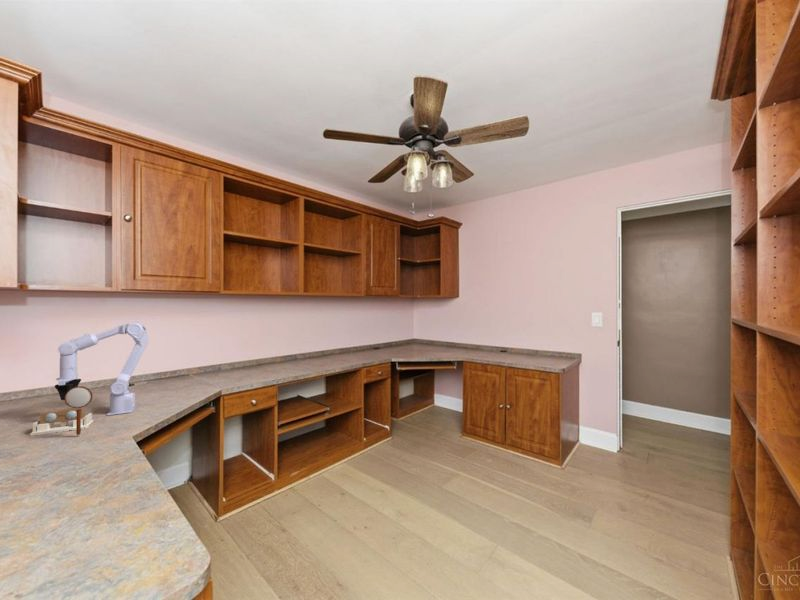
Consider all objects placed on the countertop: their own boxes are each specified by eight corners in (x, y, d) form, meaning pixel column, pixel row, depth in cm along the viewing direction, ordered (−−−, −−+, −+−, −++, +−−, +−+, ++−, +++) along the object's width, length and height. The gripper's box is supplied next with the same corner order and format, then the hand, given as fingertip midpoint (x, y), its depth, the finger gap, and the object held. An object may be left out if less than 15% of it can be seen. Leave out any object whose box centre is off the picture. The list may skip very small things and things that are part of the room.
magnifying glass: (93, 434, 136) (93, 384, 136) (90, 435, 134) (91, 385, 134) (65, 437, 133) (66, 386, 133) (63, 438, 131) (63, 387, 131)
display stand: (93, 421, 150) (93, 411, 150) (85, 428, 142) (85, 418, 142) (41, 428, 142) (41, 417, 142) (30, 435, 134) (30, 424, 134)
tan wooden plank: (85, 416, 146) (85, 406, 146) (81, 419, 143) (81, 409, 143) (44, 421, 140) (44, 410, 140) (39, 424, 137) (39, 413, 137)
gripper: (63, 365, 158) (63, 394, 158) (48, 371, 145) (48, 403, 145) (83, 364, 161) (83, 392, 161) (70, 370, 148) (70, 400, 148)
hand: (68, 397), depth 153 cm, fingers open, 7 cm apart
